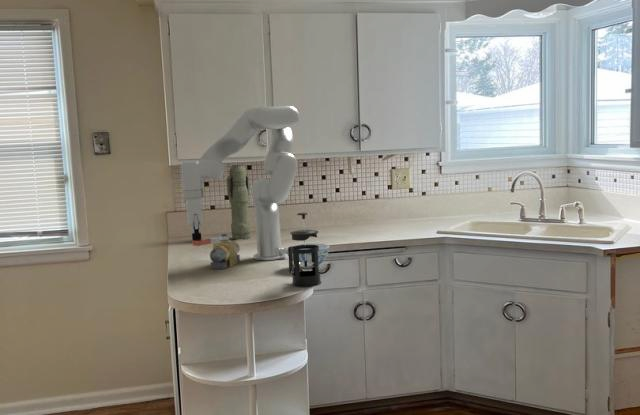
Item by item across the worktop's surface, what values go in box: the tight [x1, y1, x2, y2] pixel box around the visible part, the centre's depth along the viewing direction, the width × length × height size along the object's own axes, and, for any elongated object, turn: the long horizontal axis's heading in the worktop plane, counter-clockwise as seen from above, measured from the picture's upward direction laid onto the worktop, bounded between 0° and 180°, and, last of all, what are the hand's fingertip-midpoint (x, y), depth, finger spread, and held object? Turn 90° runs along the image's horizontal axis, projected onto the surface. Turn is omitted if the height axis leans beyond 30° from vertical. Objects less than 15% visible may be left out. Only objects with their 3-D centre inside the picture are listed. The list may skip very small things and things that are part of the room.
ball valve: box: [209, 239, 241, 270], centre depth 244 cm, size 7×16×9 cm, turn 164°
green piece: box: [226, 164, 251, 240], centre depth 307 cm, size 9×12×35 cm
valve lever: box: [192, 233, 230, 247], centre depth 239 cm, size 15×4×2 cm, turn 137°
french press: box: [287, 212, 322, 288], centre depth 206 cm, size 12×9×23 cm
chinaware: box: [287, 242, 330, 271], centre depth 232 cm, size 15×15×8 cm
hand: (197, 243), depth 238 cm, fingers closed
